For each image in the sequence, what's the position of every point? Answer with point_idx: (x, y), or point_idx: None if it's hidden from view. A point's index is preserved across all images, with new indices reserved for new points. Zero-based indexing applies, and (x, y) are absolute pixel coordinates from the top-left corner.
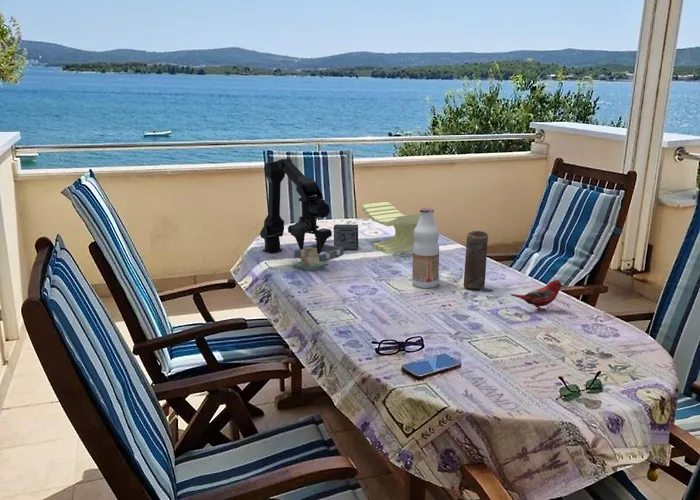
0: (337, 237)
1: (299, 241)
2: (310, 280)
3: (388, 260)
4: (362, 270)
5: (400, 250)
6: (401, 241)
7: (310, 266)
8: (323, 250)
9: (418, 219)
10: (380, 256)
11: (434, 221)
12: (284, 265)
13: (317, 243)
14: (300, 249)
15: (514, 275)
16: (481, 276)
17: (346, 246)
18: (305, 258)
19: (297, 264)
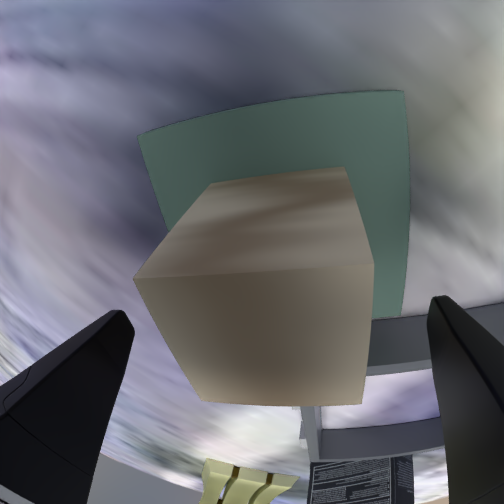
0: (378, 494)
1: (496, 418)
2: (17, 39)
3: (143, 426)
4: (62, 329)
5: (204, 471)
6: (226, 494)
7: (205, 174)
8: (428, 422)
9: None
10: (195, 445)
11: None
12: (484, 84)
13: (7, 398)
14: (445, 302)
15: None
16: None
17: (345, 467)
18: (273, 202)
19: (364, 125)
